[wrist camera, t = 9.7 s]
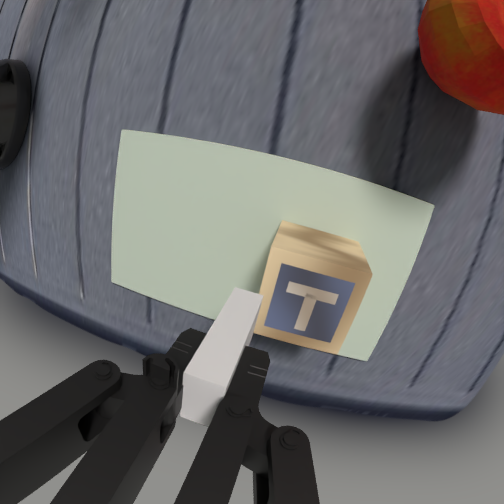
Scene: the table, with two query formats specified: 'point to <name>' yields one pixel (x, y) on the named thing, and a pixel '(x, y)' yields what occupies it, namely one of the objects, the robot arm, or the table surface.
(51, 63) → the table surface
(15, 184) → the table surface
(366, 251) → the felt mat
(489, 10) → the apple
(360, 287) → the wooden block
